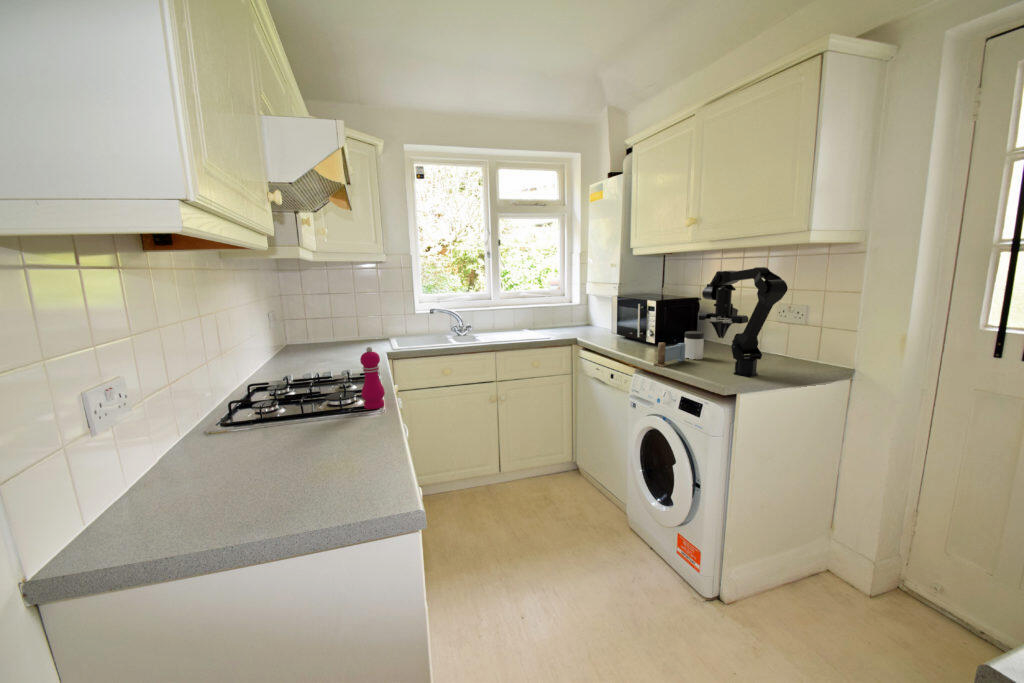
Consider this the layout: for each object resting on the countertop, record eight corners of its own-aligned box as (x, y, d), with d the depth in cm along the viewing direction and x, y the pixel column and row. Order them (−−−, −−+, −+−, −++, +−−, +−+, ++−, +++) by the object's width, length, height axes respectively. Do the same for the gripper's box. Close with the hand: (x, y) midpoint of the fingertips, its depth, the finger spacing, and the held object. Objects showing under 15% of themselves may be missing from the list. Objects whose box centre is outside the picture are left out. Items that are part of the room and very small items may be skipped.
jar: (683, 355, 199) (684, 330, 197) (701, 356, 196) (703, 331, 194) (684, 359, 191) (685, 333, 188) (703, 360, 188) (704, 334, 186)
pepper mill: (373, 411, 132) (368, 349, 128) (358, 408, 135) (352, 348, 132) (390, 404, 138) (385, 345, 134) (375, 401, 141) (369, 344, 138)
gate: (666, 364, 180) (667, 347, 179) (661, 363, 182) (662, 346, 181) (684, 360, 187) (685, 343, 186) (680, 359, 189) (680, 342, 188)
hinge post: (668, 365, 179) (669, 343, 178) (662, 367, 177) (663, 344, 175) (659, 363, 183) (660, 341, 181) (653, 365, 181) (654, 342, 179)
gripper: (756, 301, 169) (753, 338, 172) (712, 298, 184) (710, 333, 187) (742, 302, 163) (739, 341, 165) (698, 300, 178) (696, 336, 181)
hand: (721, 338), depth 175 cm, fingers closed
